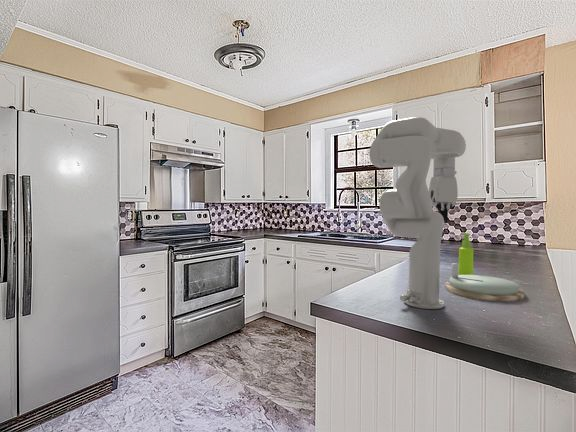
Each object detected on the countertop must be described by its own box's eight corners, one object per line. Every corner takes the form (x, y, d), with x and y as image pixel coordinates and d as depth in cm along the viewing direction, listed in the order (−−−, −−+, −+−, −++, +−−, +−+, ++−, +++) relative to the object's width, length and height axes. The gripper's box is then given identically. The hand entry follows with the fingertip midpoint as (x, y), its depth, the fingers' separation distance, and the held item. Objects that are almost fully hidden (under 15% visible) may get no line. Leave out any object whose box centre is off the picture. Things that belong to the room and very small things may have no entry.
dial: (522, 285, 126) (523, 266, 125) (515, 299, 108) (516, 276, 108) (457, 276, 141) (458, 259, 141) (442, 287, 124) (442, 267, 123)
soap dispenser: (468, 274, 153) (469, 232, 152) (475, 278, 146) (476, 234, 145) (455, 274, 154) (456, 232, 153) (461, 277, 147) (462, 233, 146)
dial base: (501, 306, 107) (502, 300, 107) (431, 288, 129) (431, 283, 129) (537, 294, 120) (537, 290, 120) (468, 280, 143) (468, 276, 143)
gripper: (453, 174, 131) (452, 220, 132) (420, 174, 128) (420, 220, 128) (467, 173, 124) (466, 221, 125) (433, 172, 120) (432, 221, 121)
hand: (442, 220), depth 126 cm, fingers closed
